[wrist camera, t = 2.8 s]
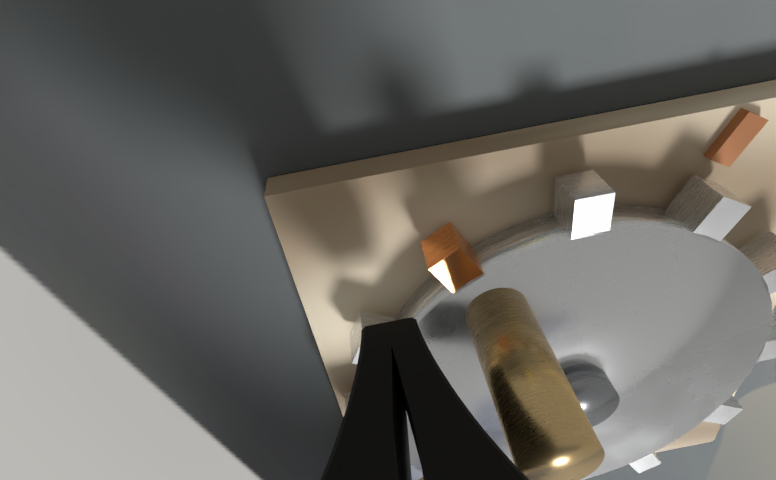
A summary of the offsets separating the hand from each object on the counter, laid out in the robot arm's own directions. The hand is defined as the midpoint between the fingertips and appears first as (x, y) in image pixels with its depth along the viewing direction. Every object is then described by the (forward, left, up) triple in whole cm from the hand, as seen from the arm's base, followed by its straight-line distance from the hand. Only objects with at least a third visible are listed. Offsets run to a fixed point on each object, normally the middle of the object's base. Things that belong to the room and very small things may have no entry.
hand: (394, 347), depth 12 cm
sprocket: (-5, -6, -2) cm, 8 cm away
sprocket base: (-5, -5, -3) cm, 8 cm away
